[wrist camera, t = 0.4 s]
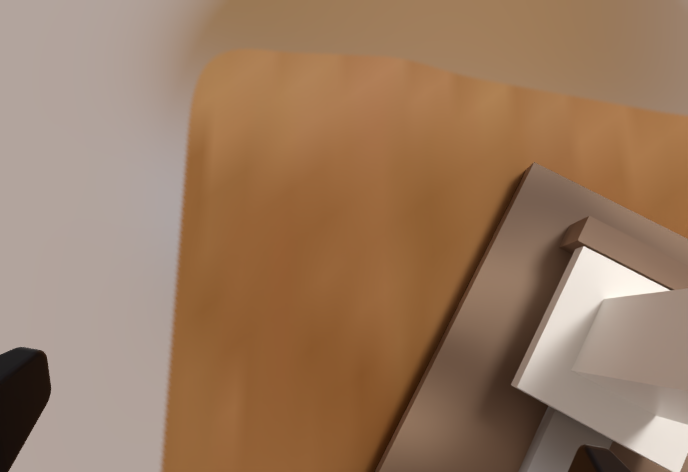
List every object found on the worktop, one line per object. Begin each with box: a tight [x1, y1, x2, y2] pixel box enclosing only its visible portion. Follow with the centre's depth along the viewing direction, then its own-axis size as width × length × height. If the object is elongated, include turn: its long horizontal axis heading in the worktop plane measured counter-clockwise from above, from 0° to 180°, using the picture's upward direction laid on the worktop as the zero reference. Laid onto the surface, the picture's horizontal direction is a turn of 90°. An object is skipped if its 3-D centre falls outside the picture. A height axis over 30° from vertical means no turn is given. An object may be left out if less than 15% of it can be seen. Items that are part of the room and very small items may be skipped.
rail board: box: [375, 162, 688, 472], centre depth 21 cm, size 20×12×3 cm, turn 152°
